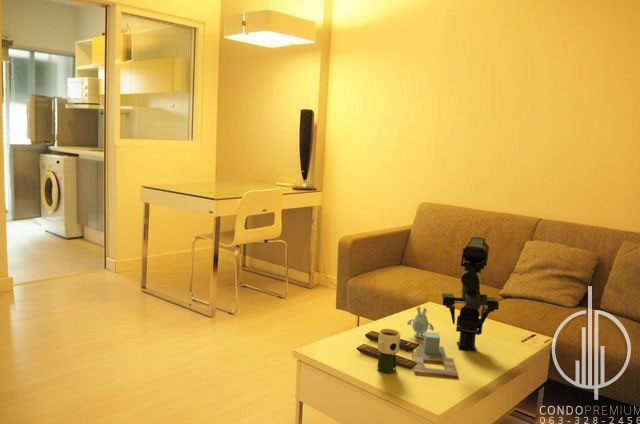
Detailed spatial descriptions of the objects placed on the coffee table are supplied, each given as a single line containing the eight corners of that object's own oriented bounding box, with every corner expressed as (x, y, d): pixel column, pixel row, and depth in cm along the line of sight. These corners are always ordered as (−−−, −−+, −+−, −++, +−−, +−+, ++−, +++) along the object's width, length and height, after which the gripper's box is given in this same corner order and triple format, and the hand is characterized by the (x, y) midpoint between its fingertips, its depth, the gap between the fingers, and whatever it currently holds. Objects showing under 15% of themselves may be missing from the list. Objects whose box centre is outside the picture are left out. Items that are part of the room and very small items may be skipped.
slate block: (424, 352, 194) (425, 336, 193) (423, 347, 199) (424, 331, 198) (438, 354, 193) (440, 338, 192) (437, 348, 198) (438, 333, 197)
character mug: (386, 378, 173) (389, 339, 171) (368, 371, 177) (371, 333, 175) (404, 368, 181) (407, 331, 179) (386, 361, 185) (389, 325, 183)
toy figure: (403, 336, 210) (406, 306, 208) (408, 331, 215) (411, 302, 213) (430, 342, 205) (433, 312, 203) (434, 337, 210) (437, 307, 209)
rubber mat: (415, 345, 201) (415, 344, 201) (442, 348, 200) (443, 346, 200) (417, 356, 192) (417, 354, 192) (446, 359, 191) (446, 357, 191)
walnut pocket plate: (411, 356, 191) (412, 354, 191) (452, 360, 189) (452, 358, 189) (414, 373, 177) (414, 371, 177) (457, 378, 176) (458, 375, 176)
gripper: (446, 285, 179) (442, 330, 181) (504, 290, 177) (499, 336, 179) (442, 277, 190) (438, 319, 192) (497, 281, 188) (492, 324, 190)
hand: (467, 325), depth 188 cm, fingers open, 9 cm apart
